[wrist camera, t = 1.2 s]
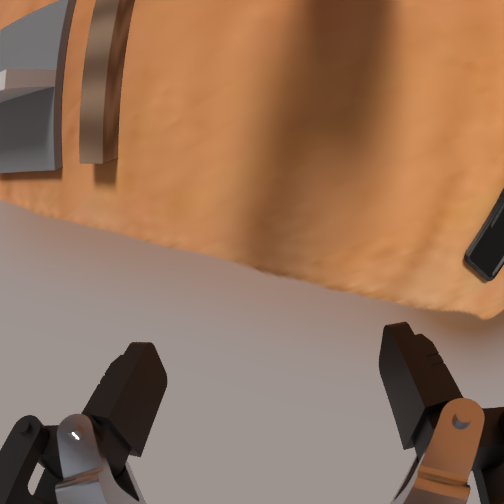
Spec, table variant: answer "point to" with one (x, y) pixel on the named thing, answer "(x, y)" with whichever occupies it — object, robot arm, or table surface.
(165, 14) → the table surface
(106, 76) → the walnut bar
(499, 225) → the phone
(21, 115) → the stand
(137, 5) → the table surface
